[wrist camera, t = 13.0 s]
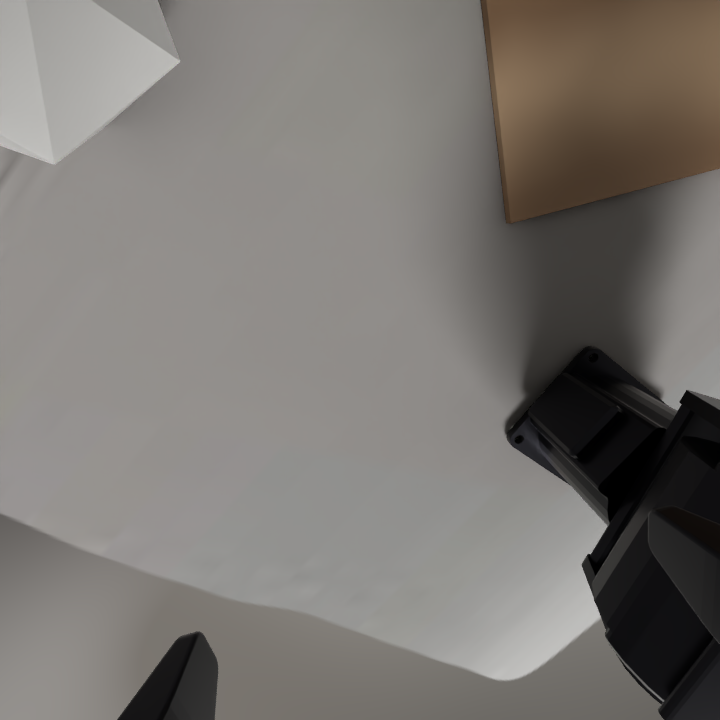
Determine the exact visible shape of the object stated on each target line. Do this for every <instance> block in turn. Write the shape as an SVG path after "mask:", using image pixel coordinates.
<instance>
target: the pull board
mask: <svg viewBox="0 0 720 720" xmlns="http://www.w3.org/2000/svg"><path fill="white" fill-rule="evenodd" d="M481 6H482V14H483V23H484V32H485V41H486V50H487V58H488V67H489V76H490V85H491V93H492V102H493V111H494V120H495V129H496V137H497V146H498V155H499V164H500V173H501V181H502V190H503V199H504V208H505V216H506V223H514V222H518V221H522V220H526V219H529V218H533V217H537V216H541V215H544V214H548V213H552V212H556V211H560V210H563V209H567V208H571V207H575V206H579V205H582V204H586V203H590V202H594V201H598V200H601V199H605V198H609V197H613V196H617V195H620V194H624V193H628V192H632V191H636V190H639V189H643V188H647V187H651V186H655V185H658V184H662V183H666V182H670V181H674V180H677V179H681V178H685V177H689V176H693V175H696V174H700V173H704V172H708V171H712V170H715V169H719V168H720V0H481Z"/></svg>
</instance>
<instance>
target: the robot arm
mask: <svg viewBox="0 0 720 720" xmlns="http://www.w3.org/2000/svg"><path fill="white" fill-rule="evenodd" d="M591 354H593V357H592V358H591V359H590V360H589V356H590V355H591ZM680 403H681V404H682V405H681V406H680V408H679V410H678V411H676V410H675V409H673V408H671V407H669V406H668V405H666V404H665V403H664V402H663V401H661V400H660V399H659V398H658V397H657V396H655V395H654V394H653V393H652V392H651V391H649V390H648V389H647V388H646V387H645V386H643V385H642V384H641V383H640V382H639V381H637V380H636V379H635V378H634V377H632V376H631V375H630V374H629V373H628V372H626V371H625V370H624V369H623V368H622V367H620V366H619V365H618V364H617V363H616V362H614V361H613V360H612V359H611V358H610V357H608V356H607V355H606V354H605V353H603V352H602V351H601V350H599V349H597V348H595V347H593V346H588V347H585V348H584V349H583V350H582V351H581V352H580V353H579V354H578V355H577V356H576V357H575V359H574V360H573V361H572V362H571V363H570V364H569V365H568V366H567V367H566V369H565V370H564V371H563V372H562V373H561V374H560V375H559V376H558V377H557V378H556V379H555V380H554V382H553V383H552V384H551V385H550V386H549V387H548V388H547V389H546V390H545V392H544V393H543V394H542V395H541V396H540V397H539V398H538V399H537V400H536V402H535V403H534V404H533V405H532V406H531V407H530V408H529V410H528V411H527V412H526V413H525V414H524V415H523V416H522V417H521V419H520V420H519V421H518V422H517V423H516V424H515V425H514V426H513V428H512V429H511V430H510V431H509V432H508V434H507V440H508V442H509V443H510V444H511V445H512V446H513V447H514V448H516V449H517V450H519V451H520V452H522V453H523V454H525V455H526V456H528V457H529V458H531V459H532V460H534V461H535V462H536V463H538V464H539V465H541V466H542V467H544V468H545V469H547V470H548V471H550V472H551V473H553V474H554V475H556V476H557V477H559V478H560V479H562V480H563V481H565V482H566V483H568V484H569V485H571V486H572V487H573V489H574V490H575V491H576V492H577V493H578V494H579V495H580V496H581V497H582V498H583V499H584V501H585V502H586V503H587V504H588V505H589V506H590V507H591V508H592V509H593V510H594V511H595V512H596V514H597V515H598V516H599V517H600V518H601V519H602V520H603V521H604V522H605V523H606V524H607V526H608V527H607V529H606V530H605V532H604V533H603V535H602V537H601V538H600V540H599V542H598V543H597V545H596V547H595V548H594V550H593V552H592V553H591V554H588V555H587V556H586V558H585V560H584V561H583V563H582V567H583V570H584V573H585V575H586V578H587V581H588V583H589V586H590V589H591V591H592V594H593V597H594V601H595V603H596V605H597V607H598V610H599V613H600V615H601V618H602V621H603V623H604V626H605V629H606V632H605V636H606V639H607V641H608V643H609V645H610V646H611V648H612V649H613V650H614V652H615V653H616V655H617V656H618V658H619V659H620V661H621V662H622V664H623V666H624V667H625V669H626V670H627V671H628V672H629V673H630V674H631V675H632V677H633V678H634V679H635V680H636V681H637V683H638V684H639V685H640V686H641V687H642V688H644V689H645V690H646V691H647V692H648V693H649V694H650V695H651V696H652V697H653V698H654V699H655V700H657V701H658V702H659V703H660V704H661V706H660V707H659V709H658V711H659V713H660V715H661V716H662V718H663V719H664V720H720V400H719V399H716V398H712V397H709V396H706V395H702V394H699V393H696V392H692V391H689V390H686V392H685V394H684V395H683V397H682V399H681V400H680ZM519 435H520V438H519V439H517V440H514V439H515V438H516V437H517V436H519ZM217 679H218V663H217V659H216V657H215V655H214V653H213V651H212V649H211V647H210V645H209V644H208V642H207V640H206V638H205V636H204V635H203V633H201V632H194V633H190V634H187V635H183V636H181V637H179V638H178V639H177V640H176V641H175V642H174V644H173V645H172V646H171V648H170V649H169V650H168V652H167V653H166V654H165V656H164V657H163V658H162V660H161V661H160V662H159V664H158V665H157V667H156V668H155V669H154V671H153V672H152V673H151V675H150V676H149V677H148V679H147V680H146V682H145V683H144V684H143V686H142V687H141V688H140V689H139V691H138V692H137V694H136V695H135V696H134V698H133V699H132V700H131V702H130V703H129V704H128V706H127V707H126V709H125V710H124V711H123V713H122V714H121V715H120V717H119V718H118V719H117V720H215V706H216V694H217V693H216V692H217Z"/></svg>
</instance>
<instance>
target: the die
mask: <svg viewBox="0 0 720 720" xmlns="http://www.w3.org/2000/svg"><path fill="white" fill-rule="evenodd" d="M179 62H181V61H180V59H179V56H178V53H177V51H176V48H175V45H174V43H173V40H172V37H171V35H170V32H169V29H168V26H167V24H166V21H165V18H164V16H163V13H162V10H161V8H160V5H159V2H158V0H0V146H3V147H5V148H8V149H11V150H14V151H17V152H19V153H22V154H25V155H28V156H31V157H33V158H36V159H39V160H42V161H45V162H48V163H50V164H53V165H55V164H57V163H58V162H59V161H61V160H62V159H63V158H65V157H66V156H67V155H69V154H70V153H71V152H73V151H74V150H75V149H77V148H78V147H79V146H81V145H82V144H83V143H84V142H86V141H87V140H88V139H90V138H91V137H92V136H94V135H95V134H96V133H98V132H99V131H100V130H102V129H103V128H104V127H106V126H107V125H108V124H109V123H110V122H111V121H113V120H114V119H115V118H116V117H117V116H118V115H119V114H121V113H122V112H123V111H124V110H125V109H126V108H127V107H129V106H130V105H131V104H132V103H133V102H134V101H136V100H137V99H138V98H139V97H140V96H141V95H142V94H144V93H145V92H146V91H147V90H148V89H149V88H151V87H152V86H153V85H154V84H155V83H156V82H157V81H159V80H160V79H161V78H162V77H163V76H164V75H166V74H167V73H168V72H169V71H170V70H171V69H172V68H174V67H175V66H176V65H177V64H178V63H179Z"/></svg>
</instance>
